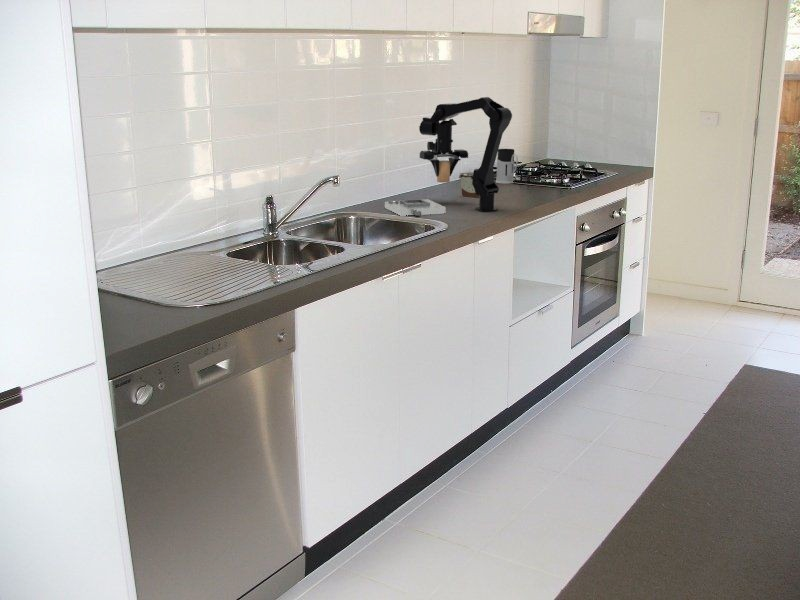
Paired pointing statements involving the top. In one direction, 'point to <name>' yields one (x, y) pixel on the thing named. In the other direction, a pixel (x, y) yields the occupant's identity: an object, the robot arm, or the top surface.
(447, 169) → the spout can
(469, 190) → the food container
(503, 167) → the grey jug
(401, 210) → the gearbox housing
